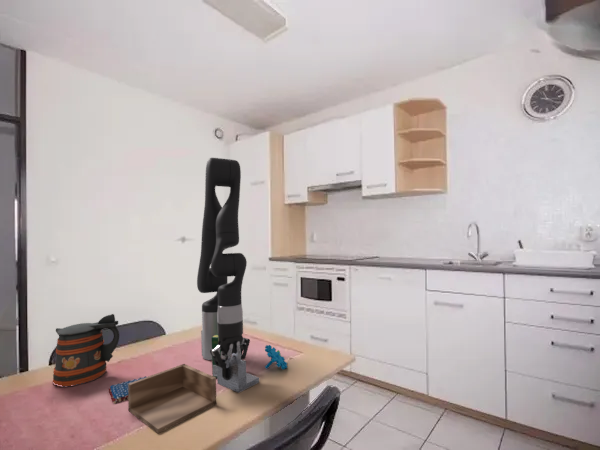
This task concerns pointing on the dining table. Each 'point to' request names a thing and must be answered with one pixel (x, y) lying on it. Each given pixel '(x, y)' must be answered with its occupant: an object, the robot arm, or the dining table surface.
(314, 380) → the dining table surface
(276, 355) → the gear
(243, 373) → the bracket
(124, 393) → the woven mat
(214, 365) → the coffee box
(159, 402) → the corner arena
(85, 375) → the beer stein
